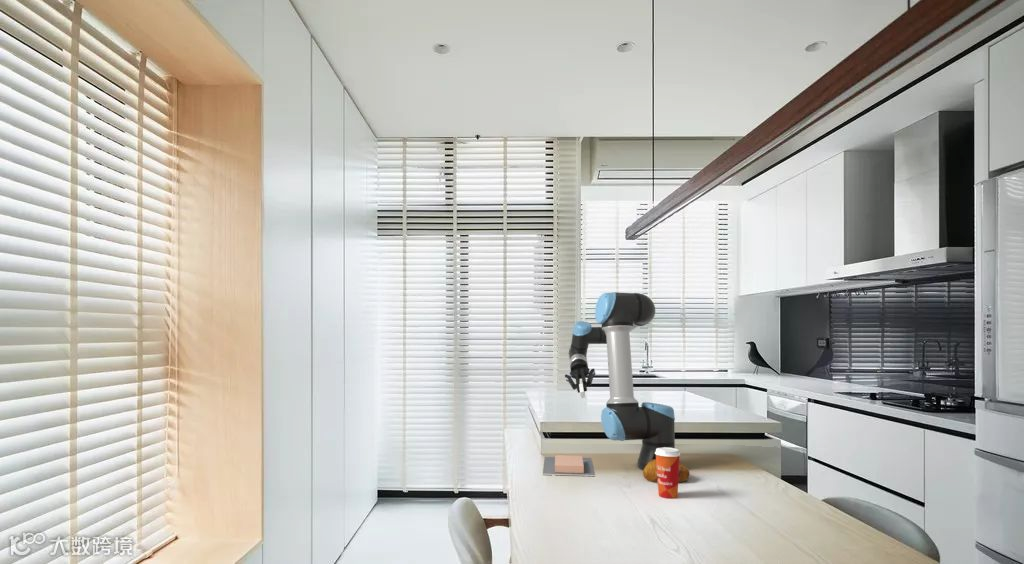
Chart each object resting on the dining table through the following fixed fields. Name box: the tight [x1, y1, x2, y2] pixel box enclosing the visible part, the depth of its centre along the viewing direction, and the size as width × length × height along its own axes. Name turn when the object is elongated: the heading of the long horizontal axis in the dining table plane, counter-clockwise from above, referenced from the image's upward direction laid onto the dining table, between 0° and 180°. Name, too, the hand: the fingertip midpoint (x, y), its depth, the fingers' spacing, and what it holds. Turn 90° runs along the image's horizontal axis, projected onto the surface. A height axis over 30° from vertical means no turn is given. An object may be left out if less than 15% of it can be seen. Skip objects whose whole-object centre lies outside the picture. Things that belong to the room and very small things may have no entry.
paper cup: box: [655, 447, 681, 500], centre depth 182 cm, size 8×8×14 cm
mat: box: [542, 456, 596, 478], centre depth 217 cm, size 26×18×1 cm
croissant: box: [642, 459, 691, 483], centre depth 202 cm, size 14×16×8 cm
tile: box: [554, 454, 584, 473], centre depth 213 cm, size 3×10×16 cm
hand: (582, 394), depth 231 cm, fingers closed
